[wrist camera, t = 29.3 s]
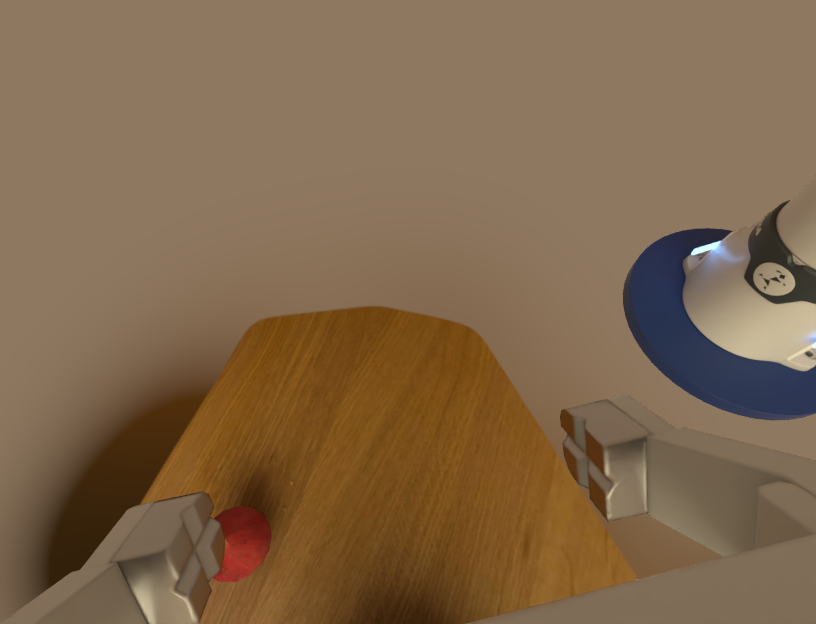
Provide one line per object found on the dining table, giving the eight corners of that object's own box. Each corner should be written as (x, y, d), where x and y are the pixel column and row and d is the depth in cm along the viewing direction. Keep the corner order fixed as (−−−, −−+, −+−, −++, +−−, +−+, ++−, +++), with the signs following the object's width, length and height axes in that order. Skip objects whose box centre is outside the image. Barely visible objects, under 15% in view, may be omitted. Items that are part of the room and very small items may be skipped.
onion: (258, 590, 37) (219, 602, 30) (209, 559, 38) (161, 564, 31) (293, 525, 39) (263, 522, 32) (245, 499, 41) (208, 490, 34)
